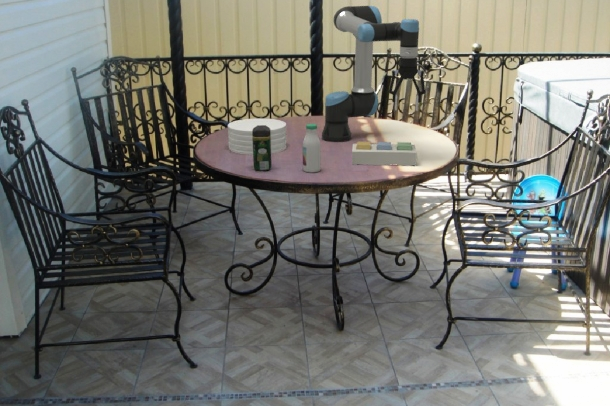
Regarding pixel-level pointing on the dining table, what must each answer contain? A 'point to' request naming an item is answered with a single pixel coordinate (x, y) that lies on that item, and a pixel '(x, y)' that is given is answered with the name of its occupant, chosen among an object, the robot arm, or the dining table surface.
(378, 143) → the key blue
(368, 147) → the key ochre
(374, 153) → the key panel
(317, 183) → the dining table surface
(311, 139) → the milk bottle
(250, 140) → the plate stack
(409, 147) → the key sage
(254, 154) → the coffee jar
